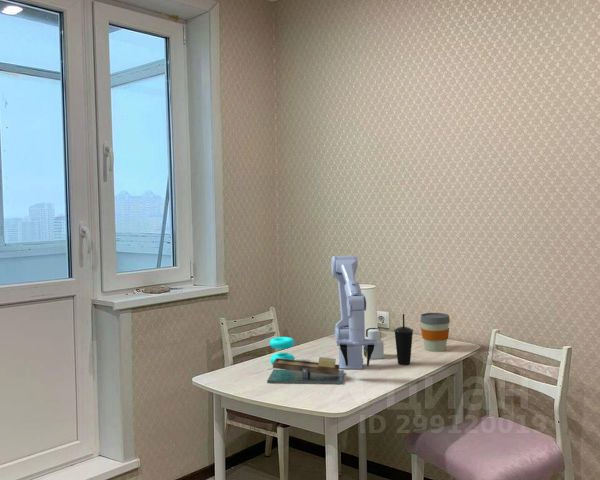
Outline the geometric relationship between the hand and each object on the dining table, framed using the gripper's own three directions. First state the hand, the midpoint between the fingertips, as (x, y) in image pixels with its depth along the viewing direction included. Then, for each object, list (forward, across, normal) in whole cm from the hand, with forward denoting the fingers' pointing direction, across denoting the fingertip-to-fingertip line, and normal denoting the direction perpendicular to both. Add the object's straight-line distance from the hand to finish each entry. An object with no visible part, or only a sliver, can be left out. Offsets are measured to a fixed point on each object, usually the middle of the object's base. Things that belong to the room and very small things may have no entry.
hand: (357, 365), depth 208 cm
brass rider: (+1, -11, 0) cm, 11 cm away
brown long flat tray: (+1, -19, 0) cm, 19 cm away
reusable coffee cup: (+5, +33, +45) cm, 56 cm away
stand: (+5, -19, 0) cm, 19 cm away
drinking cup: (+5, +18, +21) cm, 28 cm away
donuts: (+5, -31, +20) cm, 37 cm away
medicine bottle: (+5, +6, +31) cm, 32 cm away
